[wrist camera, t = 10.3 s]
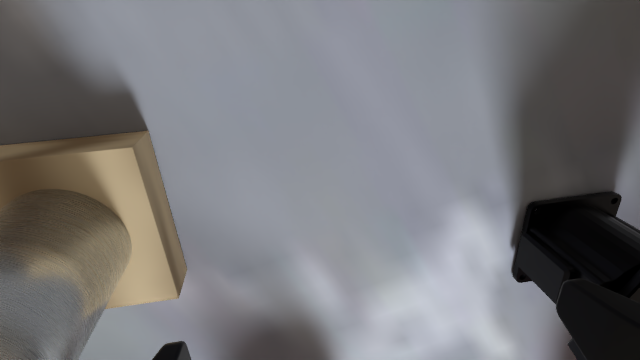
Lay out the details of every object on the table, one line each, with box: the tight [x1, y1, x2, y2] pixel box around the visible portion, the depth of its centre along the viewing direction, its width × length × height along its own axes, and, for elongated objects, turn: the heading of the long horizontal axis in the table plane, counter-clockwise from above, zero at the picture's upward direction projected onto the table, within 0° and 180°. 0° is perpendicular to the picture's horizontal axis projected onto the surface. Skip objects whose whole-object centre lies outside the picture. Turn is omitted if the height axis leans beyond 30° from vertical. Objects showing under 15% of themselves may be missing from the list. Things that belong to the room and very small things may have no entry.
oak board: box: [0, 131, 187, 309], centre depth 19 cm, size 9×9×2 cm
